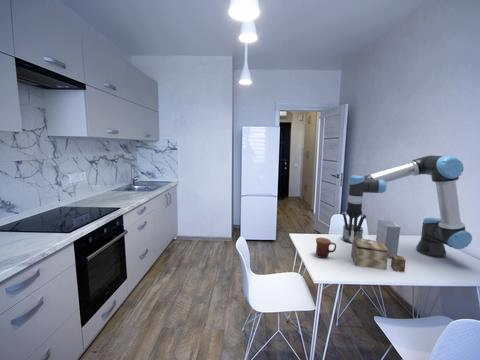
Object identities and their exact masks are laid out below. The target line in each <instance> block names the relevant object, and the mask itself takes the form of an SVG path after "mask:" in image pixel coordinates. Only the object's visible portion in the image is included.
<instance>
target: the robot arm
mask: <svg viewBox="0 0 480 360" xmlns="http://www.w3.org/2000/svg"><path fill="white" fill-rule="evenodd" d="M464 167H465V166H464V163H463V162H462V160H461V159H459V158H457V157H456V156H449V155H432V154H431V155H425V156H422V157H419V158H416V159H412V160H409V161H407V163H405V164H400V165H398V166H394V167H391V168H388V169H384V170H381V171H378V172H374V173H370V174H368V175H364V176H363V175H350V177H349V182H348V194H347V195H348V196H347V197H348V198H347V201H348V202H347V206H346V207H347V209H346V211H345V212H342V213H341V215H342V216H343V222H344V225H345V228H346V229H347V230H349V231H348V235H349V236H350V242H349V243H351V242H353V239H354V236H356V232H357V231H360V228H361V227H362V226H363V223H364V220H365V219H366V218H367V215H366V214H364V213H363V212H362V209H363V208H362V207H363V198H364V194H365V193H368V194H369V193H371V194H372V193H373V194H383V193H385V192H386V190H387V183H389V182H392V181H395V180H396V181H397V180H399V179H402V178H407V177H410V176H414V177H416V176H419V175H430V176H431V181H432V182H433V183H435V187H436V193H437V194H436V195H437V202H438V209H439V216H440V218H437V217H425V218H423V221H422V229H421V236H420V240H418V243H417V244H416V247H415V250H416V251H417V253H419V254H422V255H425V256H427V257H431V258H438V259H441V258H443V259H444V258H446V256H447V251H446V248H445V247H446V246H447V247H449V248H453V249H455V250H464V249H465V248H467V247H469V245H470V244H471V243H472V241H473V236H472V233H470V232H469V231H467V229H466V225H465V223H464V222H462V220H461V214H460V213H461V212H460V205H459V198H458V190H457V181H459V179H460V177H461V175H462V174H463V172H464ZM347 216H348V218H349V219H347ZM359 218H360V219H359ZM358 220H359V221H358ZM348 224H349V227H348ZM352 224H353V225H354V226H353V230H352ZM357 225H358V226H357ZM445 245H446V246H445Z"/></svg>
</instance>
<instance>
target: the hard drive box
mask: <svg viewBox="0 0 480 360" xmlns="http://www.w3.org/2000/svg"><path fill="white" fill-rule="evenodd" d="M376 227H377V229H376V236H375V241H379V242H382V243H383V244H384V246H385V247H386V248H387V249H388V250H389V251H388V252H389V254H388V258H390V259H392V255H397V256H398V250H399V242H400V235H401V226H400V225H398V224H396V223H395V222H393V221H392V220H390V219H381V218H380V219H377V226H376Z"/></svg>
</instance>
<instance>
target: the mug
mask: <svg viewBox="0 0 480 360" xmlns="http://www.w3.org/2000/svg"><path fill="white" fill-rule="evenodd" d="M315 242H316V248H315V254H316V256H317V257H318V258H321V259H327V258H328V257H329V254H330V253H334V252H335V251H337V250H336V249H337V244H336V243H334V242H332V241H331V240H330V239H329V238H327V237H316V238H315ZM331 245H332V246H333V245H334V248H333V249H332V250H330V246H331Z"/></svg>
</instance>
